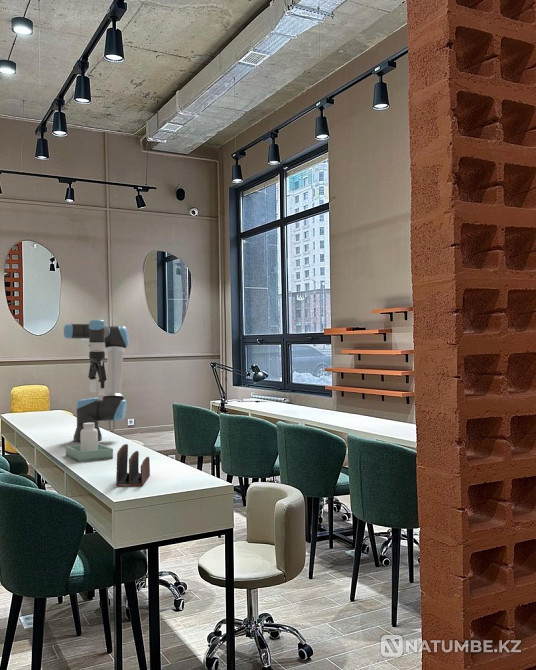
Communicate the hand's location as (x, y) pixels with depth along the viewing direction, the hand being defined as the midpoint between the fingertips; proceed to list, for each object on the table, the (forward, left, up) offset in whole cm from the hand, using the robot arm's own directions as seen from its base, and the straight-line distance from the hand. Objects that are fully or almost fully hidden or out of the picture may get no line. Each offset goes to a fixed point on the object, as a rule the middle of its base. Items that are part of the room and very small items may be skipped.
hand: (97, 393), depth 323 cm
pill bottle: (+13, -8, -28) cm, 32 cm away
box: (+13, -8, -29) cm, 33 cm away
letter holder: (+75, -11, -29) cm, 81 cm away
